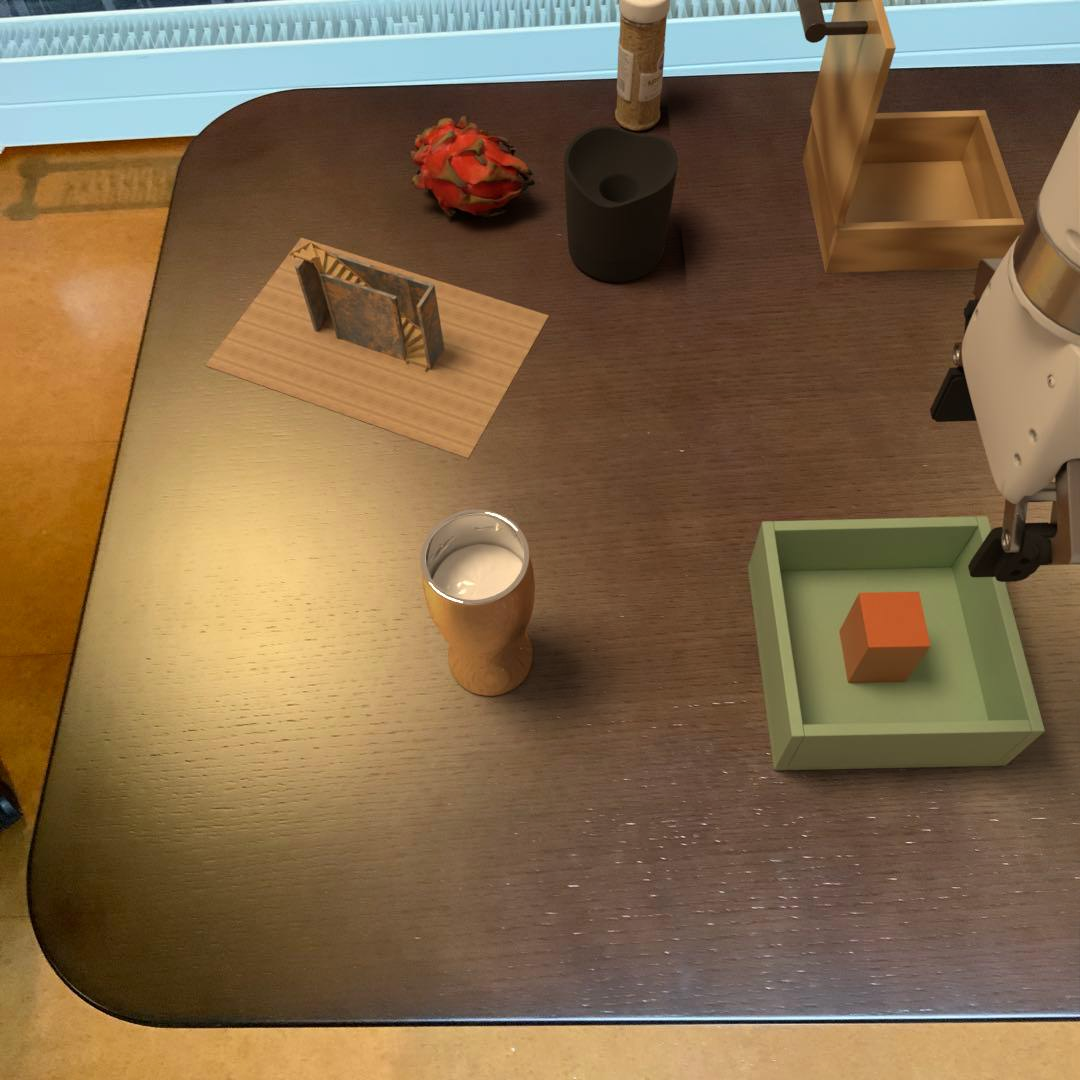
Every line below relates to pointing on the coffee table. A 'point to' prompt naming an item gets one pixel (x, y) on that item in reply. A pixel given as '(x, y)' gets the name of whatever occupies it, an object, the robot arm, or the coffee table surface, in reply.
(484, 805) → the coffee table surface
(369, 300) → the architectural model on board
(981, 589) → the open box
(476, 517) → the beer glass
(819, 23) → the lid
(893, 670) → the block
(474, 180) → the dragon fruit
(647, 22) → the spice jar
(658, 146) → the pen holder
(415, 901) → the coffee table surface
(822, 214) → the chest
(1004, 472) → the robot arm
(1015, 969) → the coffee table surface
